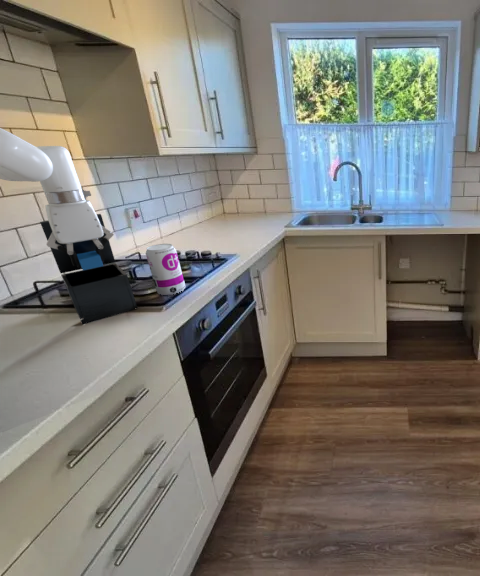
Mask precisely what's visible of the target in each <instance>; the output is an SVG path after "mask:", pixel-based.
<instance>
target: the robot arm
mask: <svg viewBox="0 0 480 576" xmlns="http://www.w3.org/2000/svg"><path fill="white" fill-rule="evenodd" d="M0 180H3V181H8V182H32V183H33V182H35V183H36V182H37V183H38V182H39V183H40V185H41V188H42V190H43V193H44V195H45V199H46V201H47V203H48V204H45V206H44V207H45V212H46V216H47V221H49V224H50V227H51V230H52V233H51V235H50V238H49V240H48V241H47V242H46V246H47V247H48V248H50V247H51V248H54V249H58V250H60V251H63V252H65V253H67V254H69V255H70V258H71V261H72V263H73V265H77V267H78V268H81V265H80V262H79V260H78V256H77V254H76V253H75V252H74V250H73V243H75V242H81V241H87V240H93V242H94V243H95V245H96V246H95V247H96V249H95V250H96V252H97V254H99V256H100V258H101V261H102V263H104V259H106V257H105V255H104V252H103V247H104V245H105V244H106V243H107V241H108V240H109V241H110V239H112V238H113V237H114V232H112V231H111V230H110V229H107V228H106V226H105V227H103V226H102V225H101V224H100V221H99V219H98V217H97V214H98V213H97V212H96V211H95V209H94V206H93V204H92V203H91V201H90V200H88V199H87V197H91V196H92V193H91V191H90V190H85V189H82V185H81V182H80V180H79V175H78V174H77V171H76V168H75V165H74V162H73V159H72V156H71V154H70V151H69V150H68V149H67V148H66V147H64V146H61V145H41V146H40V145H39V146H35V145H34V144H32V143H30V142H28V141H27V140H24V139H23V138H21V137H19V136H17V135H16V134H13V133H12V132H10V131H7V130H5V129H4V128H1V127H0ZM104 233H105V236H104V237H102V236H103V235H104ZM101 237H102V238H101ZM98 238H101V240H100V241H99V239H98ZM56 240H57V241H58V243H61V244H66V247H65V246H62V245H59V244H56V243H55V241H56ZM51 248H50V249H51Z"/></svg>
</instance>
